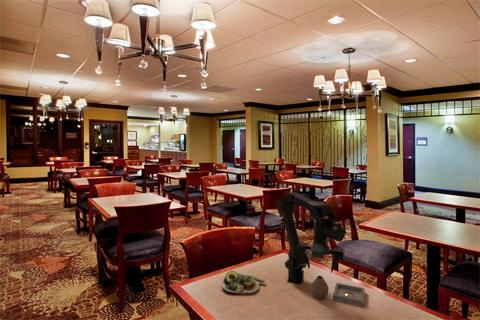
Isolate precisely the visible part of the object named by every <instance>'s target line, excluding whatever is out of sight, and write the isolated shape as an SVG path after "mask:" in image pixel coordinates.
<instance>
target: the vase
mask: <svg viewBox="0 0 480 320" xmlns="http://www.w3.org/2000/svg"><path fill="white" fill-rule="evenodd" d="M310 288H311V293H312V296H313V297H314V298H315V299H317V300H321V301H322V300H325V299H326V298H327V297H328V295H329V285H328V283H327V281H326V280H325V279H324V277H323V276H322V275H318V276H316V278H315V279H314V280H313V281H312V284H311V287H310Z"/></svg>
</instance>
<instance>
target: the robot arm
mask: <svg viewBox="0 0 480 320" xmlns="http://www.w3.org/2000/svg"><path fill="white" fill-rule="evenodd" d="M296 205H297V206H298V207H299V206H300V207H302V208H303V209H305V210H307V211H308V214H309V215H310V216H312V218H311V219H310V222H312V223H313V241H312V245H310V244H309V242H302V241H301V242H300V238H299V235H298V231H297V227H296V223H295V218H294V213H295V206H296ZM275 207H276V210H277V212H278V214H279V216H281V217H282V220H283V224H284V227H285V232H286V237H287V240H288V247H289V250H288V252H287V253H288V255H287V256H288V259H287V260H286V261H285V262H284V265H285V267H284V268H285V269H287V274H288V276H287V277H288V278H287V280H286V282H287V283H292V284H296V285H301V284H302V282H304V281H305V280H304V279H305V271H304V269H305V268H306V267H307V268H308V269H311V257H312V258H318V259H324V258H325V256H330V255H332V261H331V267H330V273H331V274H332V273H333V272H334V268H335V266H336V264H337V262H340V261H341V260H342V261H343V260H344V259H345V255H346V249H344V248H342V247H336V246H335V247H334V248H333V249H330V248H331V247H330V246H329V239H331V240H334V241H336V242H342V241H343V240H344V239H345V236H346V230H345V228H344V227H343V226H342V223H340V222H337V218H336V216H335V214H334V213H333V210H332V208H331V206H330V205H329V204H328V203H326V202H323V201H322V202H321V201H315V200H313V199H311V198H308V197H306V196H305V195H302V194H301V193H299V192H297V191H294V192H289V193H287V194H286V195H285V196H283V197H281V198H279V199H277V201H276V203H275ZM310 252H311V253H310Z"/></svg>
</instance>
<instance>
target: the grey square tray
mask: <svg viewBox="0 0 480 320" xmlns="http://www.w3.org/2000/svg"><path fill="white" fill-rule="evenodd" d="M365 292H366V291H365V288H364V287H359V286H355V285H351V284H345V283H340V282H336V283H335V287H334V290H333V293H332V297H331V299H332V301H335V302H339V303H345V304H349V305H352V306H358V307H362V308H364V307H365V294H366V293H365Z"/></svg>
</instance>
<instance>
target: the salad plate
mask: <svg viewBox="0 0 480 320" xmlns="http://www.w3.org/2000/svg"><path fill="white" fill-rule="evenodd" d="M262 283H263V284H264V283H266V281H265V279H264V280H262V279H260V278H258V277H257V276H255V275H253V274H242V273H238V272H237V271H235V270H230V271H228V272H227V273H226V274H225V276H224V278H223V281H222V286H221V288H222V290H223V291H224V292H225V293H227V294H230V293H231V294H232V295H246V294H247V295H248V294H253V293H256V292H257V291H258V290H259V289H260V284H262ZM246 287H249V288H251V290H248V291H243V290H244V289H247V288H246ZM243 288H244V289H243ZM241 290H242V291H241ZM231 294H230V295H231Z"/></svg>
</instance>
